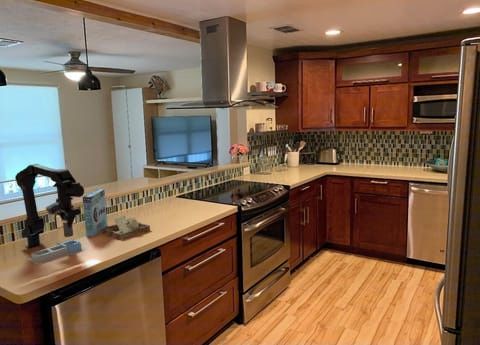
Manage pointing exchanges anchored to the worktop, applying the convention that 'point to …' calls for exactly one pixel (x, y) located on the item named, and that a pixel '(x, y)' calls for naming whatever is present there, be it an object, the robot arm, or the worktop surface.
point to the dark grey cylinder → (67, 228)
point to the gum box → (95, 212)
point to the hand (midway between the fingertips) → (67, 226)
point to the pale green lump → (126, 224)
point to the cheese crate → (111, 232)
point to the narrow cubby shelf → (56, 252)
